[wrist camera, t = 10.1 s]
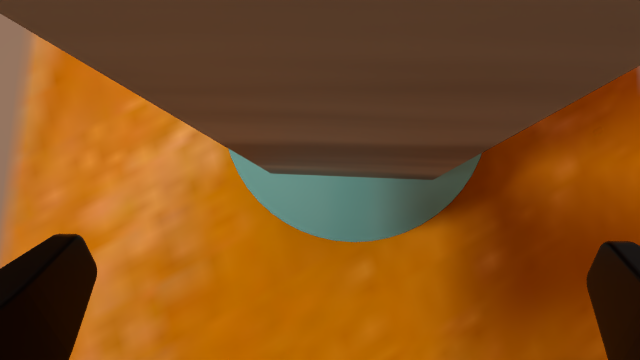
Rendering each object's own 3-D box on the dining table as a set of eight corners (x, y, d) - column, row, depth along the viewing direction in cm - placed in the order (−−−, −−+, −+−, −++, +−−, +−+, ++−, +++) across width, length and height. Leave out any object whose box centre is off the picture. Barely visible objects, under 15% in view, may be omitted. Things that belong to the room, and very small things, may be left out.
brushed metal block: (432, 180, 15) (942, -102, 2) (271, 173, 15) (-180, -93, 2) (436, 45, 15) (874, -914, 2) (278, 42, 16) (-69, -779, 3)
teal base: (519, 123, 17) (547, 107, 15) (352, 288, 17) (352, 299, 15) (354, -30, 18) (354, -69, 16) (196, 124, 18) (171, 109, 16)
